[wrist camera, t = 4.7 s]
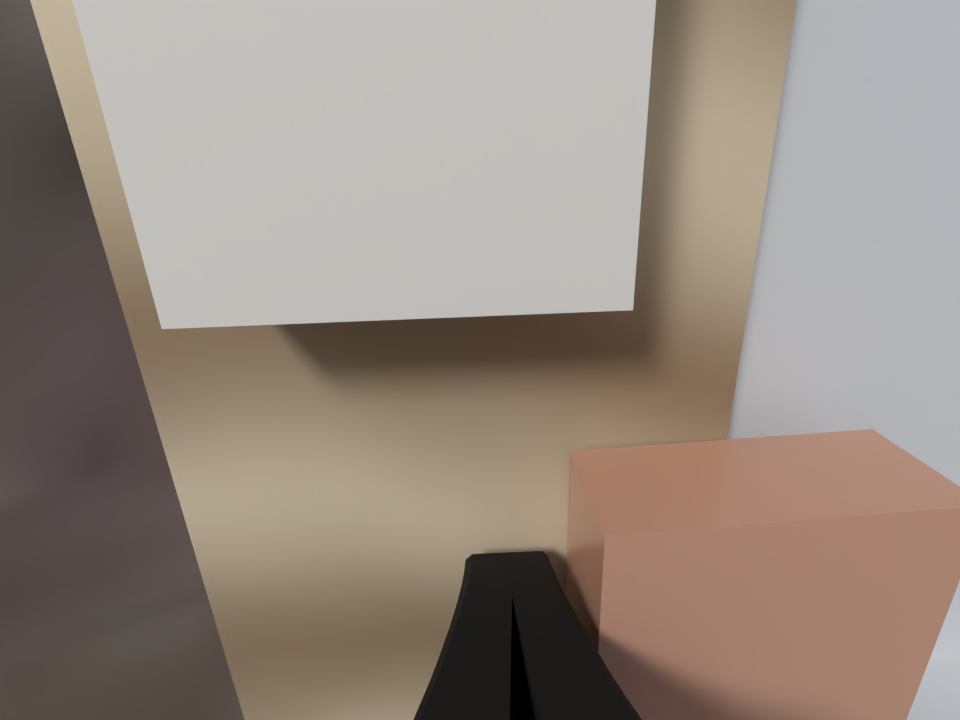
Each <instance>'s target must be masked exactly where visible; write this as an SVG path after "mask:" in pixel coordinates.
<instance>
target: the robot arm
mask: <svg viewBox="0 0 960 720" xmlns="http://www.w3.org/2000/svg"><path fill="white" fill-rule="evenodd" d="M413 720H642V719H641V718H640V716H639V715H638V713H637V712H636V710H635V709H634V707H633V706H632V705H631V703H630V702H629V700H628V699H627V697H626V696H625V694H624V693H623V691H622V690H621V688H620V687H619V685H618V684H617V682H616V681H615V679H614V677H613V676H612V674H611V673H610V671H609V670H608V668H607V666H606V665H605V663H604V661H603V660H602V658H601V657H600V655H599V653H598V652H597V650H596V648H595V647H594V645H593V643H592V642H591V640H590V638H589V637H588V635H587V633H586V632H585V630H584V628H583V626H582V625H581V623H580V621H579V619H578V618H577V616H576V614H575V612H574V610H573V608H572V606H571V605H570V603H569V601H568V599H567V597H566V595H565V593H564V591H563V589H562V587H561V585H560V583H559V581H558V579H557V577H556V574H555V572H554V570H553V567H552V565H551V562H550V560H549V557H548V556H547V555H546V554H545V553H544V552H543V551H528V552H506V553H485V554H472V555H470V556H469V557H468V558H467V559H466V560H465V569H464V575H463V580H462V585H461V589H460V593H459V597H458V601H457V604H456V608H455V611H454V614H453V618H452V621H451V624H450V627H449V630H448V633H447V636H446V639H445V641H444V644H443V647H442V650H441V653H440V655H439V658H438V661H437V664H436V667H435V669H434V672H433V674H432V677H431V679H430V682H429V684H428V687H427V689H426V691H425V694H424V696H423V698H422V701H421V703H420V705H419V708H418V710H417V712H416V715H415V717H414V719H413Z"/></svg>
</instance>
